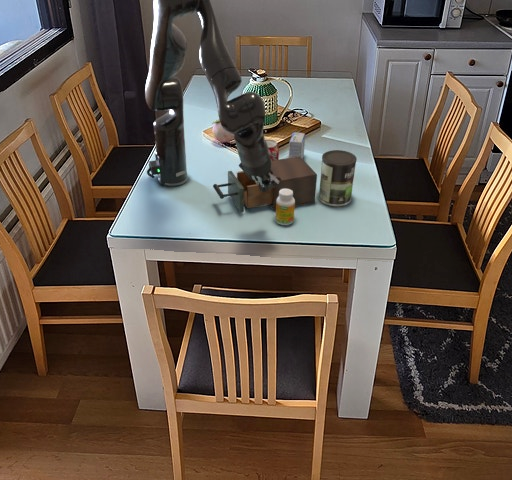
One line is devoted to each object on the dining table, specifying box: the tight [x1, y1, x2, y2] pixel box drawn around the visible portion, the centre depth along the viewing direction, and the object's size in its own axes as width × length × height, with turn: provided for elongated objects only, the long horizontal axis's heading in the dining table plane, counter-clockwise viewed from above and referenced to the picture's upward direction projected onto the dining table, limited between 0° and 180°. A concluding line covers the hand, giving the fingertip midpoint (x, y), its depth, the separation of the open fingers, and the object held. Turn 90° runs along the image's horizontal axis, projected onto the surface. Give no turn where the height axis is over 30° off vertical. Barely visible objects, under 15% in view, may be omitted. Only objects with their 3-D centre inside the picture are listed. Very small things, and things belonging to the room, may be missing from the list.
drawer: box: [212, 170, 273, 213], centre depth 173 cm, size 18×12×8 cm, turn 110°
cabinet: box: [269, 156, 318, 211], centre depth 177 cm, size 14×13×10 cm
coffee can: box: [318, 149, 358, 207], centre depth 175 cm, size 10×10×14 cm
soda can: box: [265, 139, 280, 161], centre depth 186 cm, size 7×7×12 cm
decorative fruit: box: [211, 118, 234, 144], centre depth 207 cm, size 9×8×10 cm
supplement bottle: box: [275, 189, 296, 226], centre depth 166 cm, size 5×5×10 cm
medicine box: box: [288, 132, 306, 160], centre depth 197 cm, size 8×4×9 cm, turn 168°
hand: (264, 189), depth 158 cm, fingers closed
